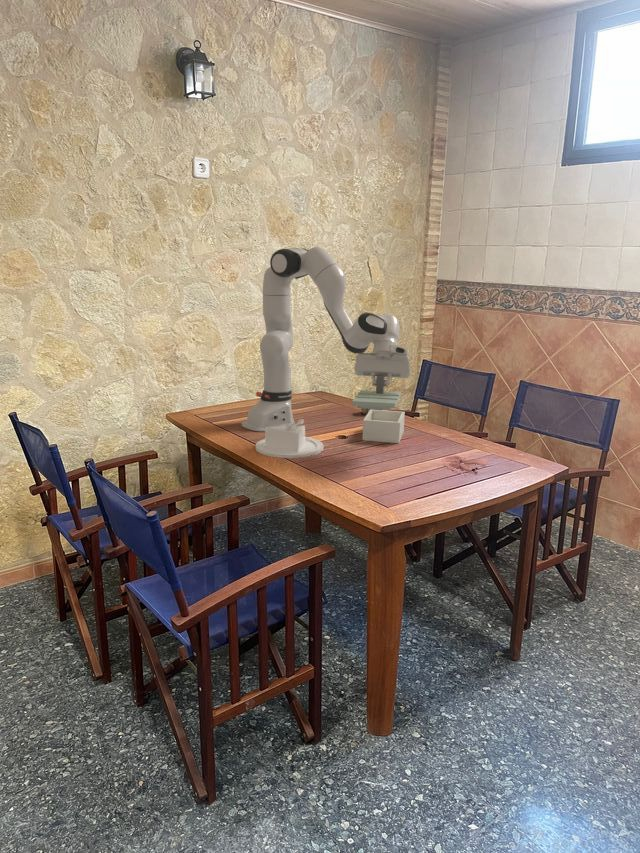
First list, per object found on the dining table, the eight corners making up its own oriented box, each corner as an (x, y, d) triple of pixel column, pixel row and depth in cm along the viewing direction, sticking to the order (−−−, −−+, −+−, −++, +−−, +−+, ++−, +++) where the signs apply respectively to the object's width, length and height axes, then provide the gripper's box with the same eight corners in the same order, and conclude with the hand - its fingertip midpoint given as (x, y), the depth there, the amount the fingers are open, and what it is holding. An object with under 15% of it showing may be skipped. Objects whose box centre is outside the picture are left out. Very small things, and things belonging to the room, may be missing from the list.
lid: (394, 411, 211) (395, 385, 209) (351, 408, 214) (352, 383, 212) (400, 399, 229) (401, 375, 227) (361, 397, 232) (361, 373, 230)
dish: (328, 441, 241) (329, 412, 238) (315, 461, 218) (316, 429, 215) (266, 436, 246) (266, 408, 243) (247, 456, 222) (246, 425, 219)
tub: (399, 443, 239) (400, 422, 237) (362, 440, 242) (363, 420, 240) (403, 430, 256) (404, 411, 254) (369, 428, 259) (370, 409, 257)
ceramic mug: (359, 412, 285) (360, 395, 283) (375, 411, 288) (376, 394, 286) (369, 418, 276) (370, 401, 274) (386, 417, 279) (387, 400, 276)
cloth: (447, 455, 228) (448, 448, 227) (508, 466, 217) (509, 459, 216) (426, 470, 211) (426, 463, 210) (490, 483, 200) (491, 476, 199)
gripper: (356, 347, 232) (350, 378, 226) (411, 349, 228) (408, 381, 221) (357, 357, 238) (352, 388, 231) (412, 360, 233) (408, 391, 227)
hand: (380, 385), depth 226 cm, fingers closed on lid, 2 cm apart
